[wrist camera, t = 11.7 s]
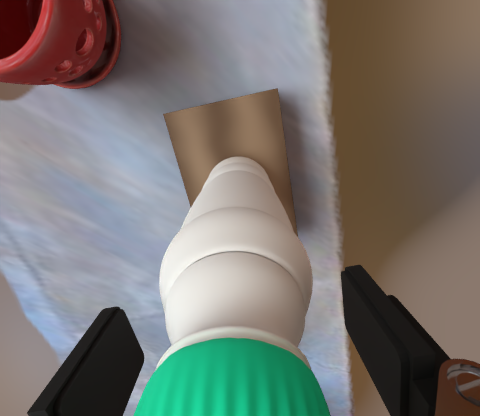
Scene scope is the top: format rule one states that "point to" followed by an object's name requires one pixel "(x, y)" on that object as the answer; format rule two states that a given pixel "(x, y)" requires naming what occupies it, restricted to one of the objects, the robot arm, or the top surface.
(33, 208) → the top surface
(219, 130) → the walnut stand
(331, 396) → the top surface
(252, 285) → the water bottle
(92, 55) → the plant pot
